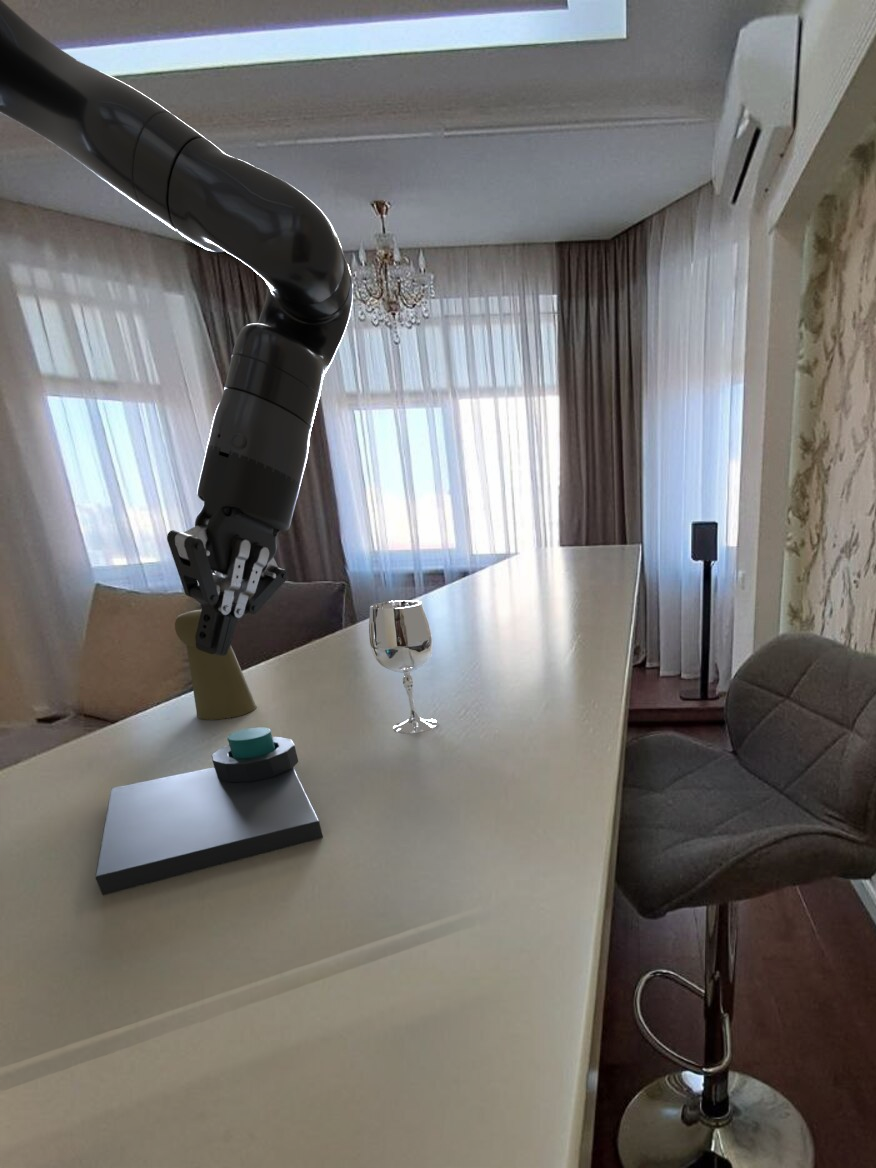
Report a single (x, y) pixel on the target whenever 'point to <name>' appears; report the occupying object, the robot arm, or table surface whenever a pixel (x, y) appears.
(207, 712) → the cork
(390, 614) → the wineglass
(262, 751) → the button
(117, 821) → the scale
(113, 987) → the table surface
